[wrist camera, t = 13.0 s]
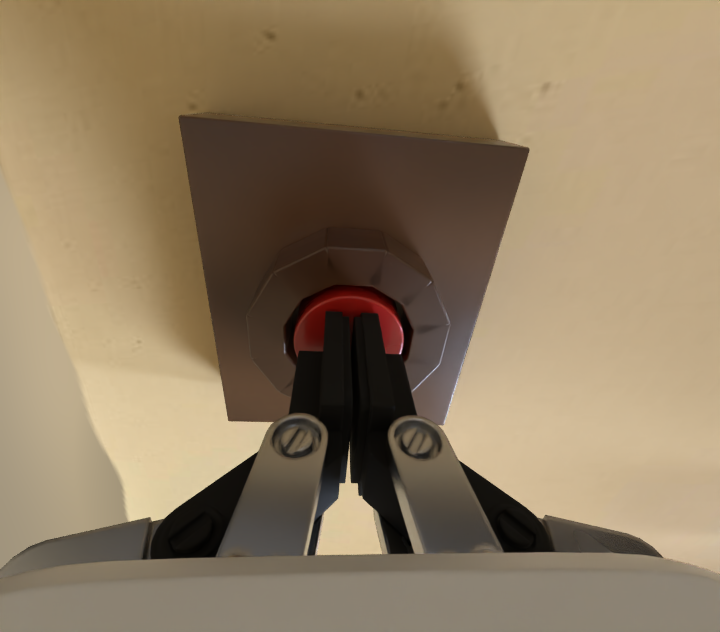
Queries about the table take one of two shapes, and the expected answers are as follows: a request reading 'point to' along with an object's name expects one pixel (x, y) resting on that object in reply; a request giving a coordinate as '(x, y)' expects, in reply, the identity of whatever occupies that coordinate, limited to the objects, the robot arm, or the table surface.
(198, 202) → the button block
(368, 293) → the button
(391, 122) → the table surface
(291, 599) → the robot arm
